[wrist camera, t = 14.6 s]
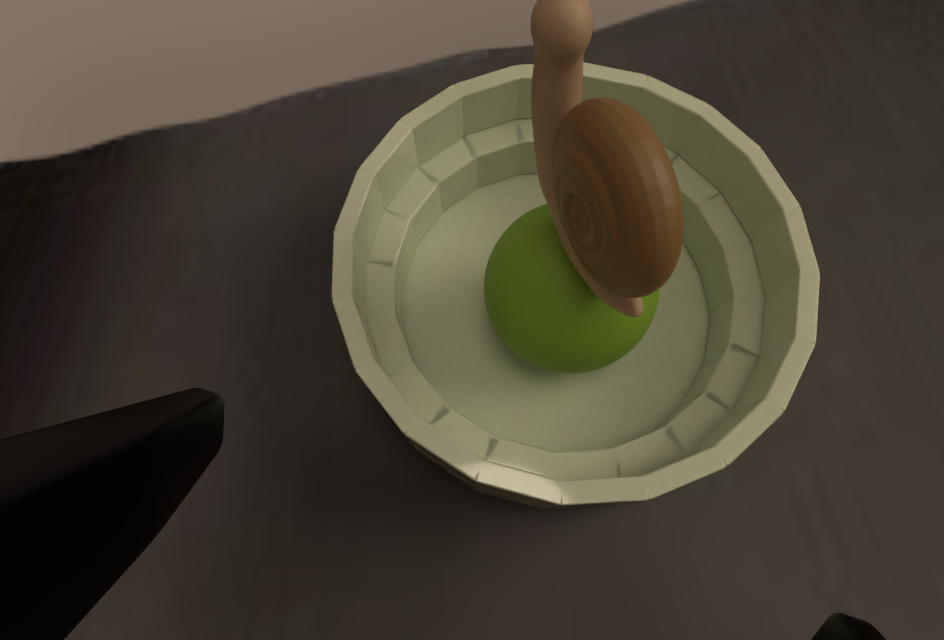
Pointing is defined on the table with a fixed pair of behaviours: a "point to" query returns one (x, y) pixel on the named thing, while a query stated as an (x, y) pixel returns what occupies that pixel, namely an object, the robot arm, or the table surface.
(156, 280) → the table surface
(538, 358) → the snail figurine
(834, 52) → the table surface
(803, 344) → the basin
